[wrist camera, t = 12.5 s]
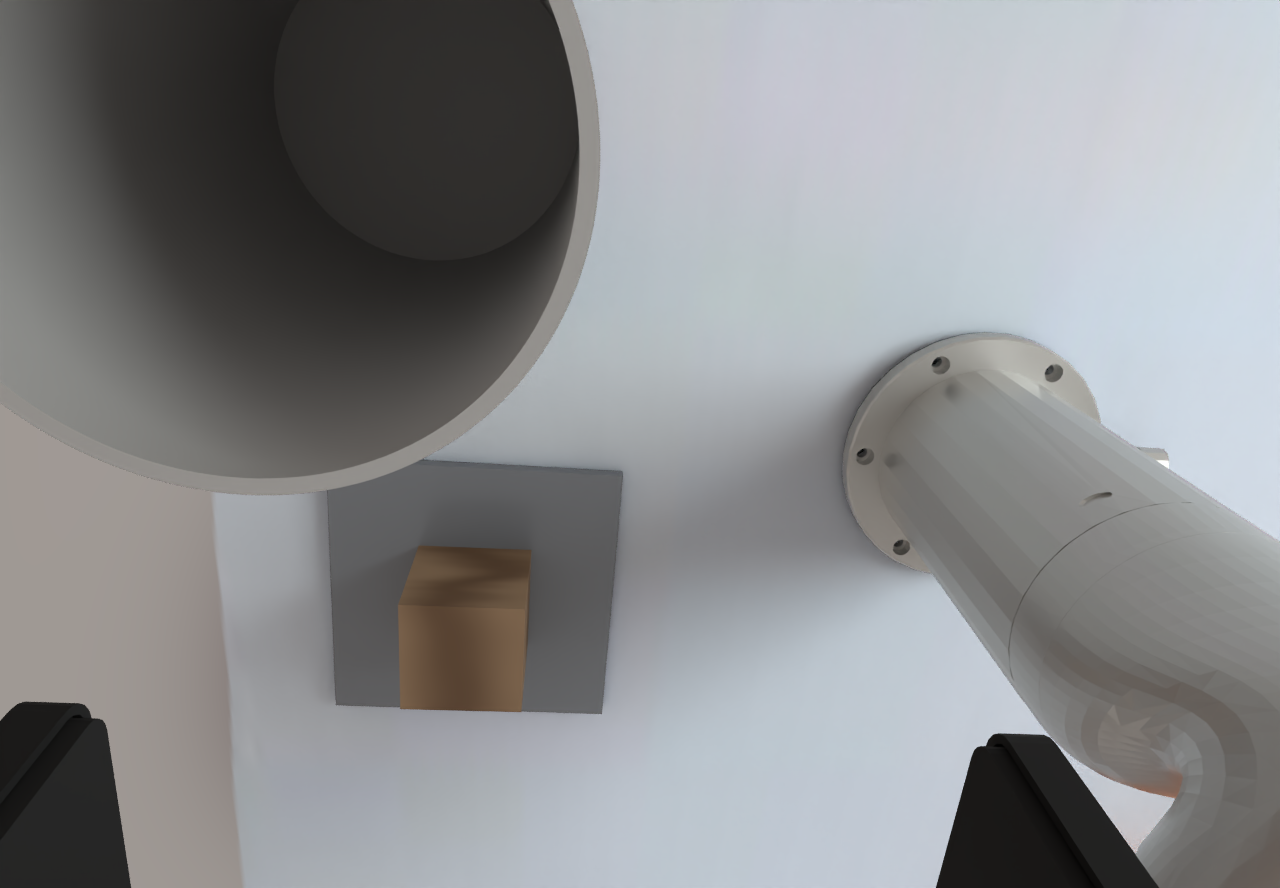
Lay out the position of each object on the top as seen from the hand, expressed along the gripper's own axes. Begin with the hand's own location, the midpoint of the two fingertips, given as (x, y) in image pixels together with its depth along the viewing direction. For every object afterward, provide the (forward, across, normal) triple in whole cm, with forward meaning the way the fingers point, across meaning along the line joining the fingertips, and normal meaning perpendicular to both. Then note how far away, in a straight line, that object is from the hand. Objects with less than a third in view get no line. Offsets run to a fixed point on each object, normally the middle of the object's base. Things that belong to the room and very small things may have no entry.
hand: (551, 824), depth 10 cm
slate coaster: (+33, +4, +17) cm, 38 cm away
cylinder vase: (+34, +6, -6) cm, 35 cm away
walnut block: (+33, +4, +17) cm, 37 cm away
